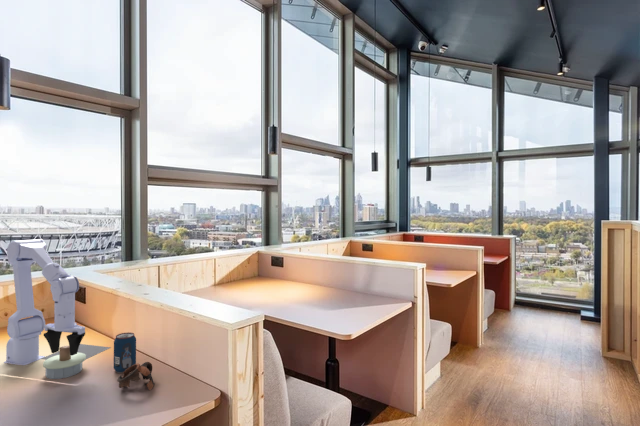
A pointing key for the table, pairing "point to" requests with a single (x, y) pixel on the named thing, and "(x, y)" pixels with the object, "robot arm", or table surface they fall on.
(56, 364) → the lid
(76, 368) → the bowl
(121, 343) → the soda can
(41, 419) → the table surface
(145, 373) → the brown lumpy object
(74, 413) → the table surface
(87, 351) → the mat
